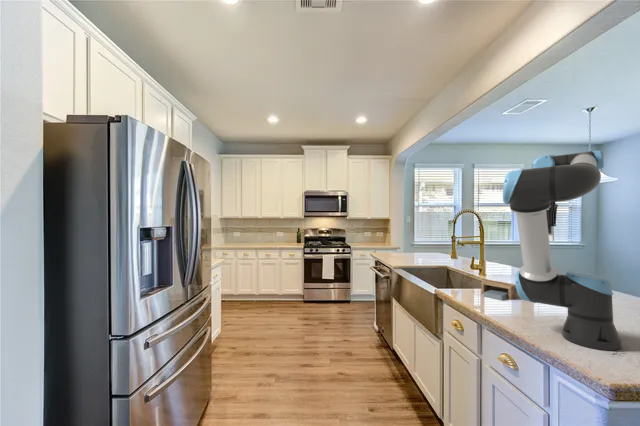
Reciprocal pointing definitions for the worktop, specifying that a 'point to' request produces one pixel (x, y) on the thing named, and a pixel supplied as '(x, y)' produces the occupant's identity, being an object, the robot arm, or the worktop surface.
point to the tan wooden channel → (500, 287)
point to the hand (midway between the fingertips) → (549, 240)
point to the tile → (496, 294)
